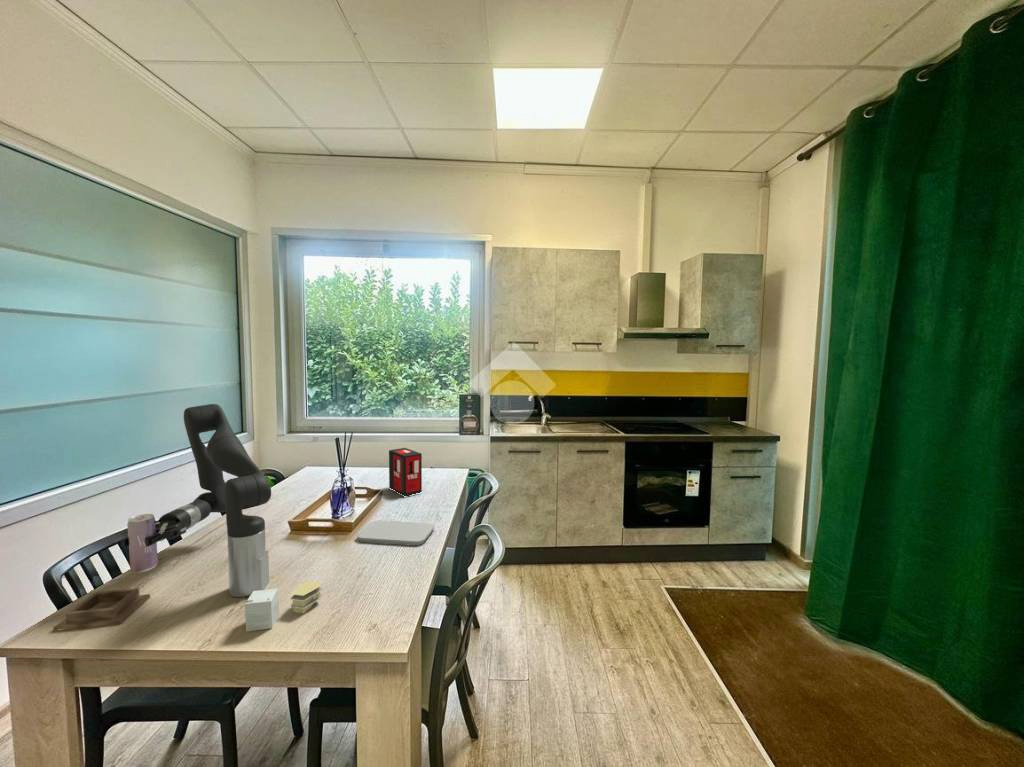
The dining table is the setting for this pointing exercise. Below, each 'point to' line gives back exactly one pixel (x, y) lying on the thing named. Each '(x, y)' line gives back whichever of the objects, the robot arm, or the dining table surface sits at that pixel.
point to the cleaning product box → (405, 471)
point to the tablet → (395, 532)
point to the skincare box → (262, 609)
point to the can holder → (103, 609)
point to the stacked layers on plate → (306, 596)
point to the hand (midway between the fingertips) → (135, 543)
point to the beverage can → (142, 543)
